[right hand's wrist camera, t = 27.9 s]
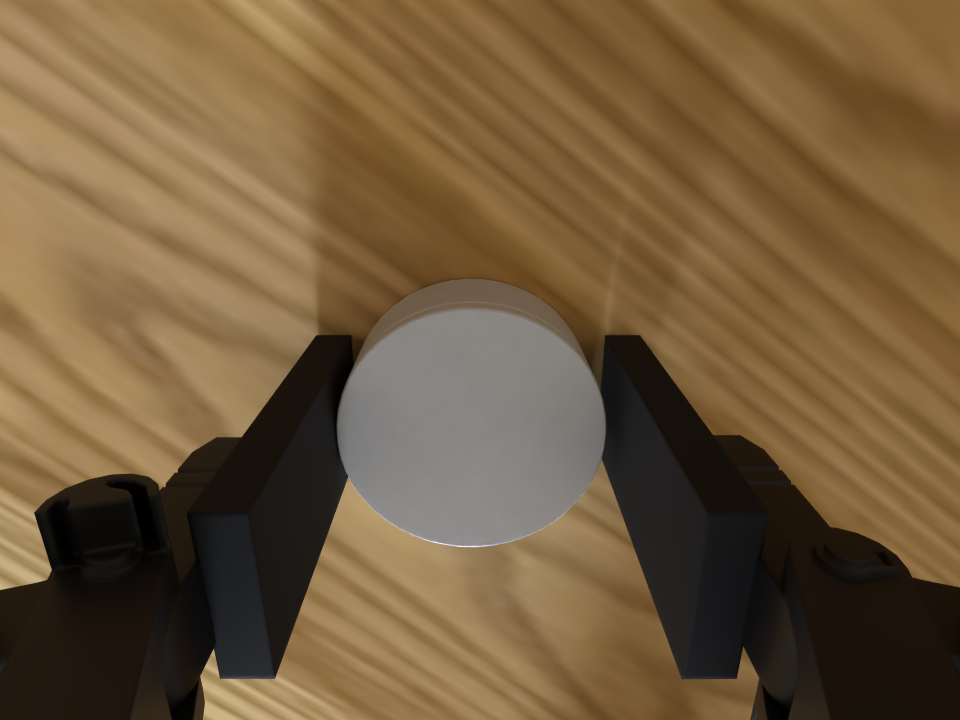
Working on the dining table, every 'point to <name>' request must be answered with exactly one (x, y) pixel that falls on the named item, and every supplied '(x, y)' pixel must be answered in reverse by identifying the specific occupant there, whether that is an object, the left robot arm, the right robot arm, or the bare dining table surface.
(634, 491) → the right robot arm
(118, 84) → the dining table surface
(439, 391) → the lid
